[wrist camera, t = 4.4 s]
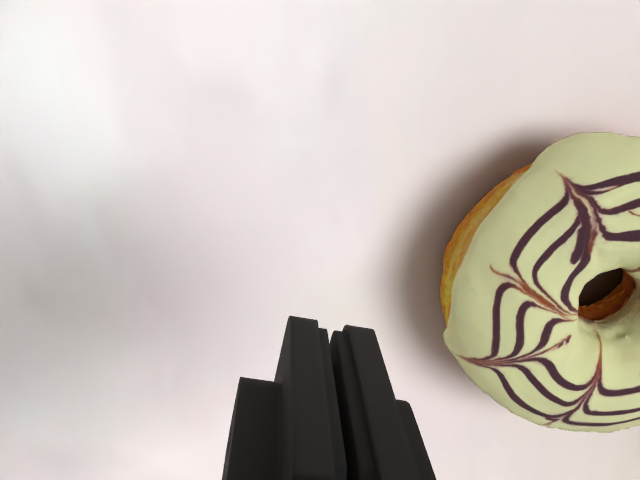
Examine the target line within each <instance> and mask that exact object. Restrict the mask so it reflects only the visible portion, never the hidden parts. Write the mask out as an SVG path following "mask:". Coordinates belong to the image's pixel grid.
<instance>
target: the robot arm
mask: <svg viewBox="0 0 640 480" xmlns="http://www.w3.org/2000/svg"><path fill="white" fill-rule="evenodd" d="M222 480H436V477H435V474H434V472H433V469H432V466H431V463H430V460H429V457H428V454H427V451H426V448H425V446H424V443H423V440H422V437H421V434H420V431H419V428H418V425H417V422H416V420H415V417H414V414H413V411H412V408H411V406H410V404H409V403H408V402H406V401H403V400H396V399H395V396H394V393H393V389H392V386H391V383H390V380H389V376H388V373H387V370H386V367H385V364H384V360H383V357H382V354H381V351H380V347H379V344H378V341H377V338H376V334H375V332H374V330H373V329H368V328H362V327H356V326H350V325H345V326H344V328H343V331H342V332H341V331H335V330H334V332H333V334H332V337H331V341H330V344H329V339H328V332H327V329H323V328H318V321H317V320H313V319H307V318H301V317H295V316H289V318H288V322H287V326H286V330H285V335H284V339H283V344H282V348H281V353H280V357H279V362H278V366H277V371H276V375H275V380H274V382H272V381H265V380H258V379H251V378H244V377H240V380H239V384H238V389H237V394H236V399H235V405H234V410H233V415H232V420H231V426H230V432H229V437H228V443H227V449H226V456H225V462H224V469H223V476H222Z"/></svg>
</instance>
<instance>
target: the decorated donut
mask: <svg viewBox="0 0 640 480" xmlns="http://www.w3.org/2000/svg"><path fill="white" fill-rule="evenodd" d="M617 268H622V269H623V279H622V281H621V283H620V284H619V285H618V286H616V287H615V288H614V289H613V291H612V292H610V294H608V295H607V296H606V297H605V298H603V299H602V300H600V301H597V302H596V303H594V304H593V303H592V304H591V305H588V306H586V305H584V306H579V295H580V293H581V291H582V289H583V287H584V285H585V284H586V283H587V282H588V281H590V280H591V279H593V278H594V277H595V276H596V275H598V274H600V273H603V272H607V271H610V270H614V269H617ZM440 299H441V307H442V309H443V315H444V319H445V323H446V327H447V328H446V329H445V331H444V333H443V338H444V341H445V344H446V346H447V347H448V348H449V350H450V351H451V353H452V354H453V355H454V357H455V358H456V359H457V360H458V362H459V363H460V365H461V367H462V368H463V370H464V371H465V373H466V374H467V375H468V377H469V378H470V379H471V380H472V381H473V382H474V383H475V384H476V385H477V386H478V387H479V388H480V389H481V390H482V391H483V392H484V393H486V394H488V395H489V396H491V397H492V398H493V399H494V400H495V401H496V402H497V403H499V404H500V405H502V406H503V407H505V408H507V409H508V410H509V411H510V412H511V413H513V414H515V415H518V416H520V417H522V418H524V419H526V420H528V421H531V422H533V423H535V424H538V425H541V426H545V427H548V428H558V429H562V430H568V431H585V432H600V433H610V432H614V431H618V430H621V429H628V428H631V427H634V426H637V425H640V137H633V136H623V135H620V134H615V133H609V132H596V133H577V134H574V135H571V136H568V137H565V138H563V139H561V140H559V141H557V142H556V143H554V144H552V145H550V146H549V147H548V148H546V149H545V150H544V151H543V152H542V153H541V154H540V155H539V156H538V157H537V158H536V159H535V161H534V162H533V163H530V164H528V165H526V166H525V167H523V168H521V169H517V170H516V171H514V172H513V174H512V175H511V176H510V177H508V178H507V179H505V180H503V181H502V182H501V183H499V184H498V185H496V186H495V187H494V188H493V189H492V190H491V191H490V192H488V193H487V194H486V195H485V196H484V197H483V198H482V199H481V200H480V201H479V202H478V204H476V205H475V206H474V208H473V209H472V210H471V211H470V212H469V213H468V214H467V215H466V216H465V218H464V219H463V221H462V222H461V223H460V224H459V225H458V227H457V228H456V230H455V232H454V234H453V236H452V238H451V240H450V242H449V243H448V245H447V247H446V249H445V252H444V258H443V274H442V278H441V286H440Z"/></svg>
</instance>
